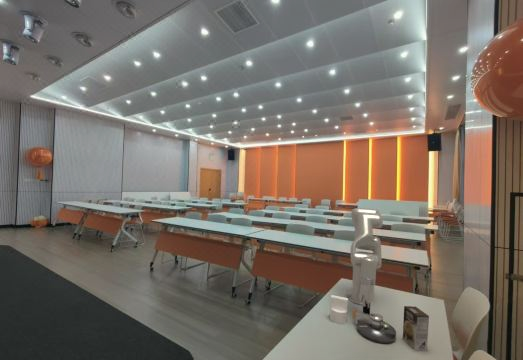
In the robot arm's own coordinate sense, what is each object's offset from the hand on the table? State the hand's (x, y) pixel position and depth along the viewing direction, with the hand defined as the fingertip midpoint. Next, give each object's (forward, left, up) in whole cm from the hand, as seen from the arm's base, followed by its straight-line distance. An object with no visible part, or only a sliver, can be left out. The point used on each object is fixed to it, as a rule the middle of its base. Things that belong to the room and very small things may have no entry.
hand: (366, 314), depth 137 cm
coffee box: (+23, -2, -5) cm, 24 cm away
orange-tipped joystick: (+3, -6, -2) cm, 7 cm away
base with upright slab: (-12, -8, -5) cm, 15 cm away
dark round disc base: (+7, -6, -5) cm, 10 cm away
